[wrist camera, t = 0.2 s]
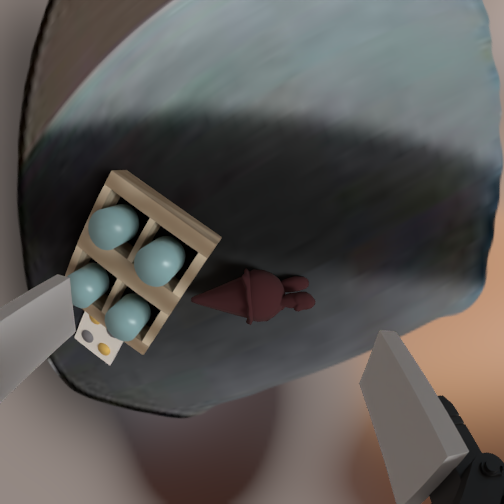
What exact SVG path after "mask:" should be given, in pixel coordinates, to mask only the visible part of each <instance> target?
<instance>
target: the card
mask: <svg viewBox="0 0 504 504" xmlns="http://www.w3.org/2000/svg"><path fill="white" fill-rule="evenodd" d="M74 338H75V339H77V340H78V341H79V342H80V343H81V344H83V345H84V346H85V347H86V348H88V349H89V350H90V351H91V352H93V353H94V354H95V355H97V356H98V357H99V358H101V359H102V360H103V361H105V362H106V363H107V364H109V365H111V364H112V362H113V360H114V358H115V356H116V354H117V352H118V351H119V349H120V347H121V345H122V343H123V341H121V340H118V339H117V338H115V337H114V336H112V335H111V333H110V332H109V331H108V329H107V328H105V327H104V326H103V325H102V324H100V323H99V322H98V321H97V320H95V319H94V318H93V317H92V316H90V315H89V314H88V313H87V312H84V314H83V317H82V319H81V322H80V324H79V327H78V329H77V332H76V335H75V337H74Z"/></svg>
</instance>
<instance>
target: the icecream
mask: <svg viewBox="0 0 504 504" xmlns="http://www.w3.org/2000/svg"><path fill="white" fill-rule="evenodd" d="M308 285H309V281H308V279H307V278H305V277H302V276H293V277H290V278H287V279H284V280H282V281H281V282H280V280H279V278H277V277H276V276H275V275H273V274H272V273H270V272H267V271H265V270H255V269H254V270H252V271H248V270H247V269H245V270H244V274H243V275H242V277H240V278H237V279H235V280H232V281H230V282H228V283H225V284H223V285H221V286H218V287H216V288H214V289H211V290H209V291H206V292H204V293H201V294H199V295H196V296H194V297H192V298H191V301H192V302H193V303H196V304H199V305H203V306H206V307H210V308H213V309H216V310H220V311H223V312H227V313H231V314H234V315H238V316H241V317H245V318H247V321H246V322H247V323H248V324H250V325H251V323H252V321H256V322H260V321H268V320H270V319H271V318H273V317H274V316H275V315H276V314H277V313H278V312H279V311H281V310H283V309H284V307H288V308H294V310H295V311H301V310H305V309H310V308H312V307H313V306H314V305H315V299H314V298H313V297H312V296H311V295H310V294H309V293H307V292H297V293H289V294H286V295H285V292H295V291H300V290H303V289H306V288H307V287H308Z"/></svg>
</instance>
